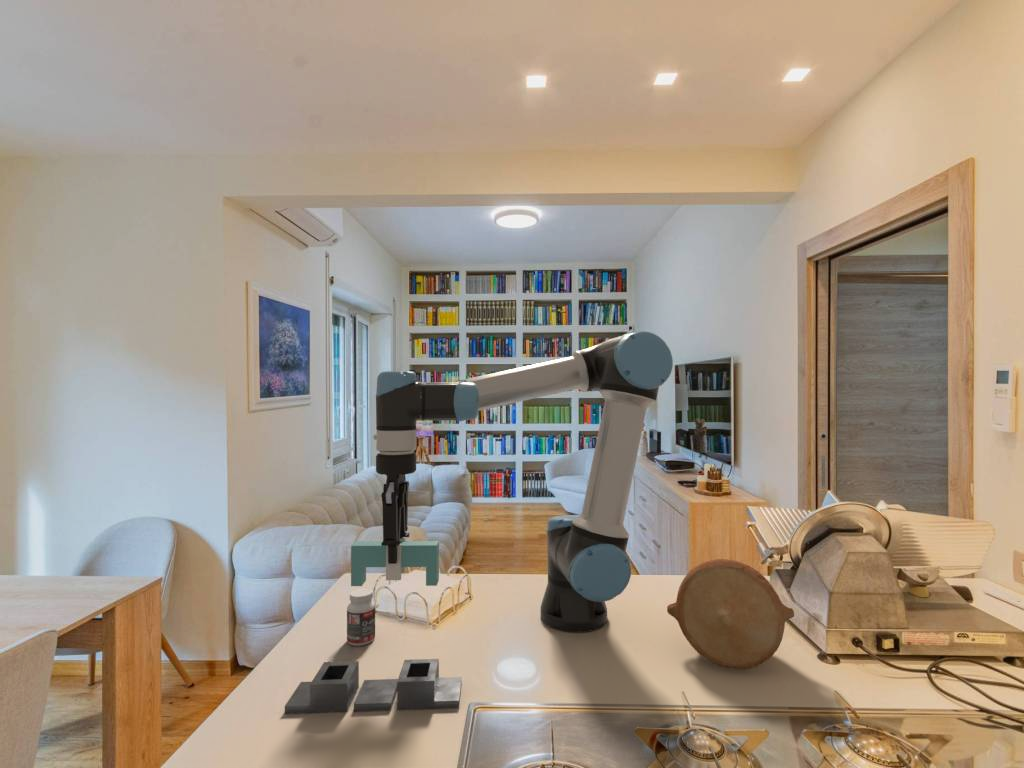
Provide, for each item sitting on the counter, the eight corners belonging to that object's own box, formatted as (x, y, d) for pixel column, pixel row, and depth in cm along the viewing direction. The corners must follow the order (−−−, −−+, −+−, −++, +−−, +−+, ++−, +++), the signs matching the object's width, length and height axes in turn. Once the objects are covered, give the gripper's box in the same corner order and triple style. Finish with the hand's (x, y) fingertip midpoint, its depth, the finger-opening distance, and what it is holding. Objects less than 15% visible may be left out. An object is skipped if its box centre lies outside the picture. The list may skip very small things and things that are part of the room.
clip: (438, 579, 99) (438, 540, 99) (436, 585, 96) (436, 545, 96) (355, 580, 99) (355, 541, 99) (350, 586, 96) (351, 545, 96)
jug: (650, 605, 95) (658, 571, 123) (718, 704, 89) (711, 645, 117) (742, 545, 91) (729, 525, 119) (819, 645, 86) (786, 599, 114)
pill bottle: (367, 648, 104) (367, 598, 104) (341, 645, 105) (341, 596, 105) (380, 635, 109) (379, 588, 110) (355, 632, 111) (355, 586, 111)
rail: (461, 683, 90) (461, 658, 91) (459, 708, 84) (458, 680, 84) (300, 688, 89) (300, 662, 90) (284, 713, 82) (284, 685, 83)
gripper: (386, 447, 106) (385, 562, 105) (365, 457, 90) (364, 592, 89) (422, 447, 106) (422, 562, 105) (407, 457, 90) (407, 592, 89)
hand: (395, 575), depth 97 cm, fingers closed on clip, 3 cm apart
